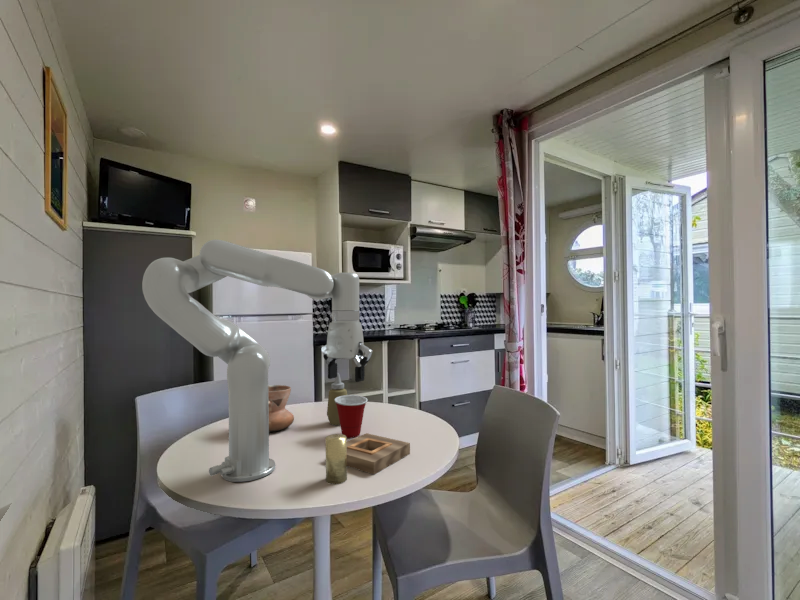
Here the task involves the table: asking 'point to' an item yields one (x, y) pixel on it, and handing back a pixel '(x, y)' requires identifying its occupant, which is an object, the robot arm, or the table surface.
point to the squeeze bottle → (334, 393)
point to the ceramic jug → (279, 407)
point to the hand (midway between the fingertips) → (345, 379)
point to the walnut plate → (375, 452)
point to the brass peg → (336, 459)
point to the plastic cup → (350, 414)
